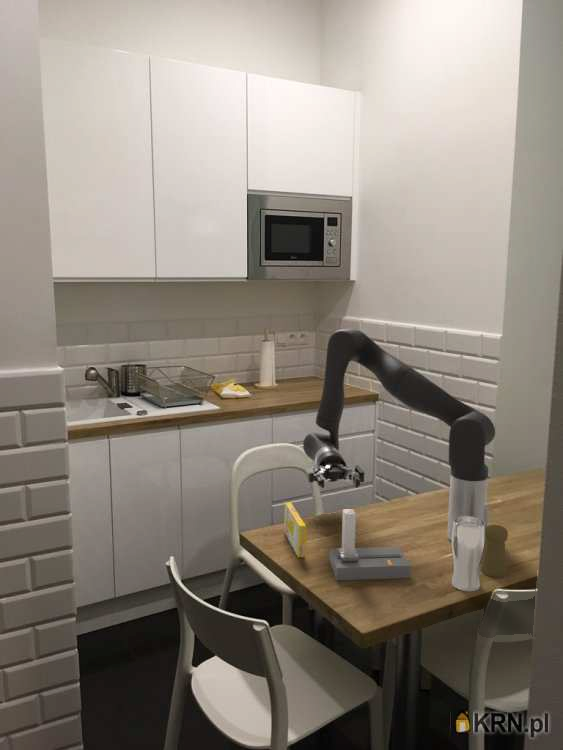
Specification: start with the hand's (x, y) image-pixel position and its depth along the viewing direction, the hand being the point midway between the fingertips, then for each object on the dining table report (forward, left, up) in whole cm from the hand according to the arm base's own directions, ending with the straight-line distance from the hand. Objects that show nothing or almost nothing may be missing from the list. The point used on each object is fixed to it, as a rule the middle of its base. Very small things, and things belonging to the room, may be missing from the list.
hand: (340, 483), depth 158 cm
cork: (-34, +14, -17) cm, 41 cm away
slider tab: (0, +11, -14) cm, 18 cm away
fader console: (-5, +11, -17) cm, 21 cm away
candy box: (+11, -4, -17) cm, 21 cm away
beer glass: (-25, +20, -17) cm, 37 cm away
